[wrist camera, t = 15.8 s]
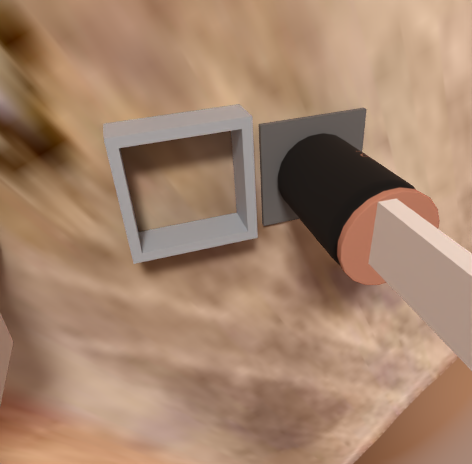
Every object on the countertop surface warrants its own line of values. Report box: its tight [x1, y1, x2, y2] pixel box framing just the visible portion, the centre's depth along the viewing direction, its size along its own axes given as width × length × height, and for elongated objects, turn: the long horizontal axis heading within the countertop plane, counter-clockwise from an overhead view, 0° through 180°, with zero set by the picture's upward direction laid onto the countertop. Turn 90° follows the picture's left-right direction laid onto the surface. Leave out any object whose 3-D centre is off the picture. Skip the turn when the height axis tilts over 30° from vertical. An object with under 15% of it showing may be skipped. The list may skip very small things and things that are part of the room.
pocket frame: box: [103, 104, 258, 264], centre depth 50 cm, size 15×15×5 cm
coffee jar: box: [278, 133, 439, 285], centre depth 48 cm, size 11×11×18 cm
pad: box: [259, 108, 366, 226], centre depth 56 cm, size 14×14×1 cm
